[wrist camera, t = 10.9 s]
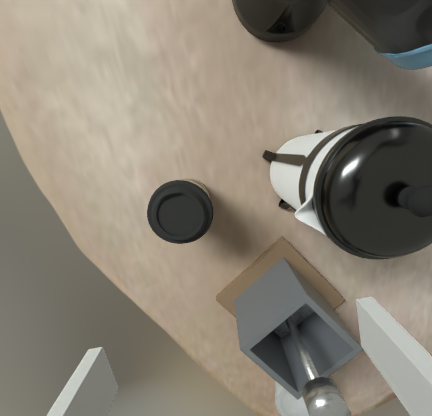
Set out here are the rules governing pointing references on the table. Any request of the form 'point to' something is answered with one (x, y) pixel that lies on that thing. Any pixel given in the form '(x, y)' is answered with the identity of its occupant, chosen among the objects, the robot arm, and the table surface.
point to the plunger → (313, 372)
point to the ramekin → (289, 403)
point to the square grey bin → (282, 309)
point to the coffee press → (361, 185)
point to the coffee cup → (180, 211)
